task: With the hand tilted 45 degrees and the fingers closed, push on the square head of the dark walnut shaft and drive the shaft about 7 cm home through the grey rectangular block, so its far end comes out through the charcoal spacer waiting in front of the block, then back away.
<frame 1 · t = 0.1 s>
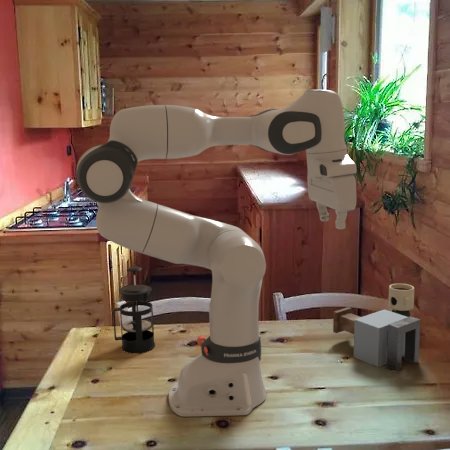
hand: (332, 224, 131), 39 cm above the table, tool pointing down, fingers open, 8 cm apart
character mug: (399, 329, 172), on the table
french press: (136, 347, 163), on the table
shaft: (365, 328, 157), point 6 cm above the table, slide at 0.0 cm
spacer: (402, 364, 148), on the table
grey rectangular block: (380, 355, 154), on the table
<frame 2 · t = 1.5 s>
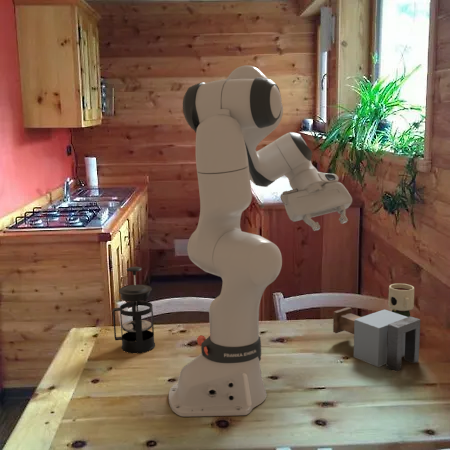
hand: (331, 225, 160), 33 cm above the table, tool tilted 45°, fingers open, 8 cm apart
nothing on the table moved.
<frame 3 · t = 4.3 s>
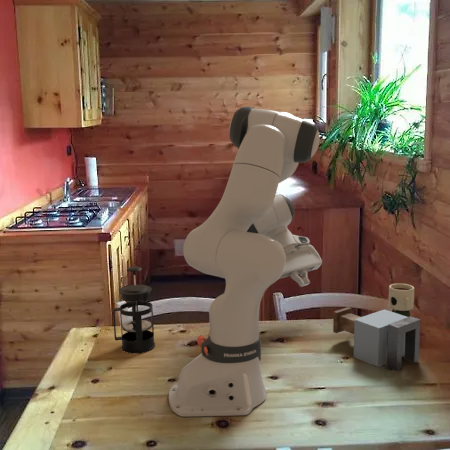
hand: (305, 284, 174), 13 cm above the table, tool tilted 45°, fingers closed
nothing on the table moved.
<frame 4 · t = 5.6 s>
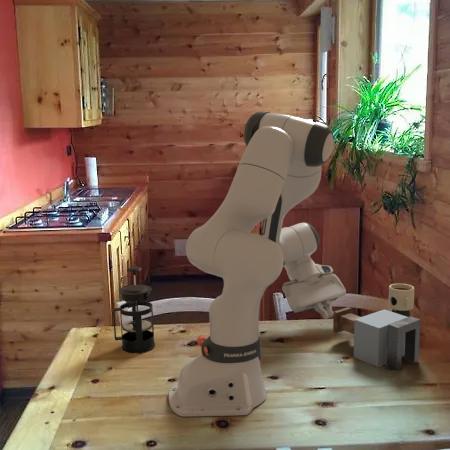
hand: (329, 317, 167), 5 cm above the table, tool tilted 45°, fingers closed
nothing on the table moved.
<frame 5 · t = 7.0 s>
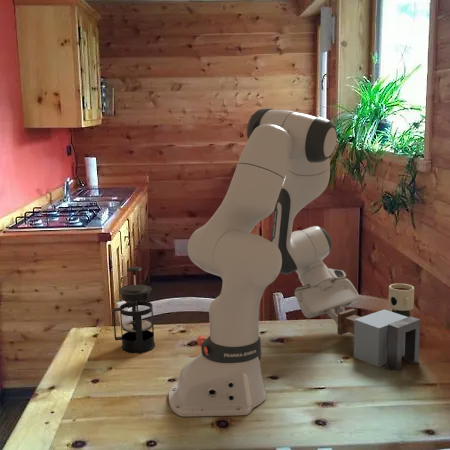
hand: (342, 323, 163), 5 cm above the table, tool tilted 45°, fingers closed, pressing on shaft
shaft: (370, 330, 155), point 6 cm above the table, slide at 1.6 cm, touching gripper
everything else where it was.
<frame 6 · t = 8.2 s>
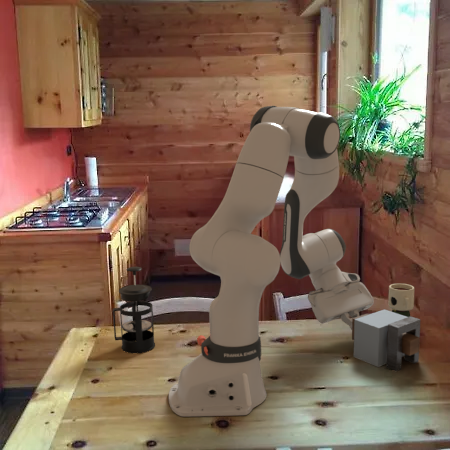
hand: (357, 328, 159), 5 cm above the table, tool tilted 45°, fingers closed, pressing on shaft
shaft: (385, 335, 151), point 6 cm above the table, slide at 6.8 cm, touching gripper
everything else where it was.
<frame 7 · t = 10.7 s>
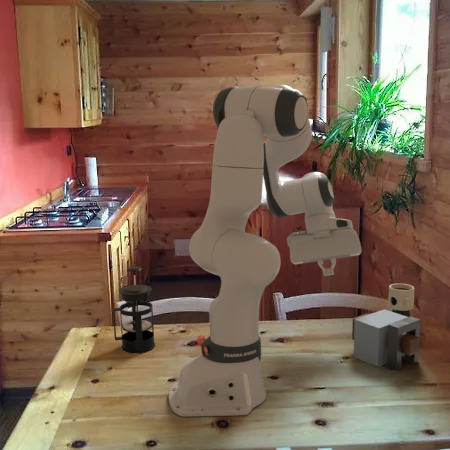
hand: (328, 274, 164), 18 cm above the table, tool tilted 30°, fingers closed
shaft: (386, 336, 151), point 6 cm above the table, slide at 6.9 cm
everything else where it was.
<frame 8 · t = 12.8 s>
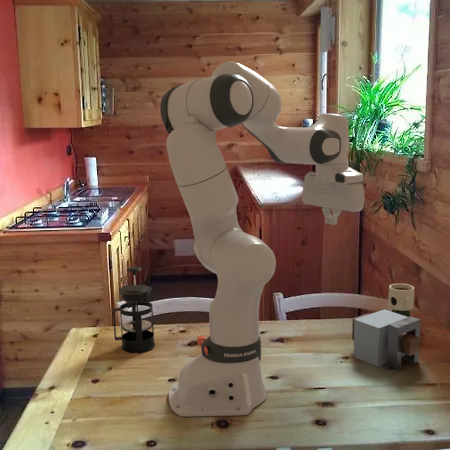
hand: (331, 223, 161), 33 cm above the table, tool pointing down, fingers closed
nothing on the table moved.
at the end: shaft slide at 6.9 cm; spacer tilted 0°; spacer moved 0.0 cm from its start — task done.
